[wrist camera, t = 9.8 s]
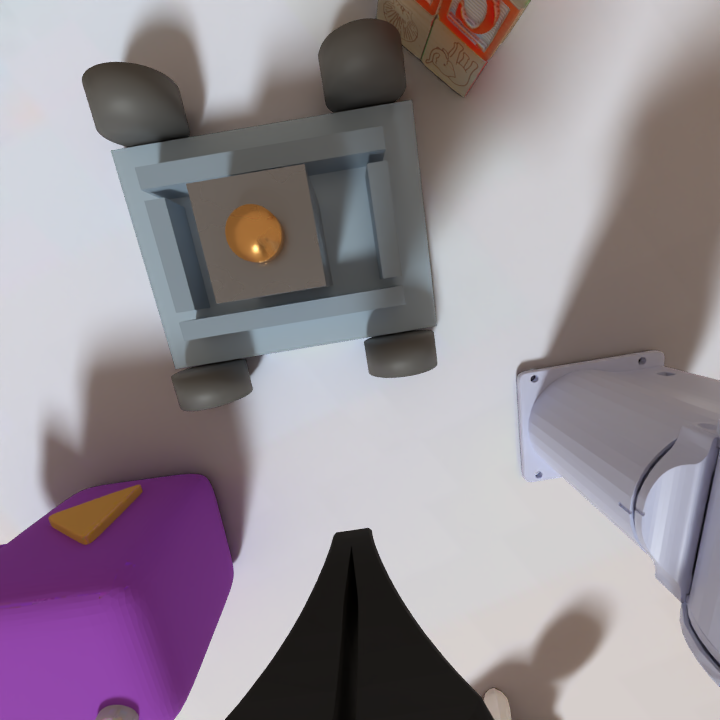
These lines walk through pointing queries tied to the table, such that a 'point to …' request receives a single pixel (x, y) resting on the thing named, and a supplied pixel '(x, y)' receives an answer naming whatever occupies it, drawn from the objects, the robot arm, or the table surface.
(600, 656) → the table surface
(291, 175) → the metal block with knob
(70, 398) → the table surface
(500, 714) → the white animal figurine
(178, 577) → the toy camera
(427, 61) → the stack of blocks
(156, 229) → the chassis
